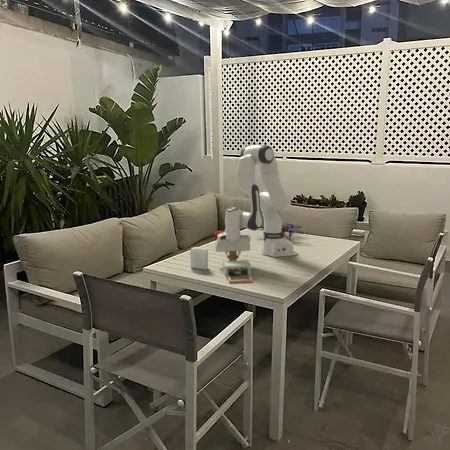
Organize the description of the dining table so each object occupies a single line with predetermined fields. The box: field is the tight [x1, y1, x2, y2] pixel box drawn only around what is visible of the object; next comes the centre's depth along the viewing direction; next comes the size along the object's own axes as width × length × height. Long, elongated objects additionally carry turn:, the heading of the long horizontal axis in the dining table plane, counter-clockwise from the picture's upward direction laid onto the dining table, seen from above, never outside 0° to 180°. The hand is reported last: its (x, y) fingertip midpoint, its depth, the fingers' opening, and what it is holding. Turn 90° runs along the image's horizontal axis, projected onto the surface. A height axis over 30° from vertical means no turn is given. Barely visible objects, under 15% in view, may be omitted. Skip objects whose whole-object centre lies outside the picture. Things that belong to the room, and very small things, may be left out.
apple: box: [214, 229, 225, 241], centre depth 304 cm, size 11×11×12 cm
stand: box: [222, 259, 252, 278], centre depth 249 cm, size 14×10×6 cm
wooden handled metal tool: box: [228, 251, 240, 272], centre depth 258 cm, size 18×4×8 cm, turn 6°
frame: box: [226, 274, 253, 284], centre depth 238 cm, size 12×10×1 cm
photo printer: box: [190, 246, 209, 270], centre depth 258 cm, size 10×4×12 cm, turn 69°
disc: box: [232, 268, 243, 276], centre depth 248 cm, size 5×5×2 cm
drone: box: [256, 222, 305, 242], centre depth 330 cm, size 40×10×28 cm
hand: (232, 258), depth 265 cm, fingers closed on wooden handled metal tool, 4 cm apart
